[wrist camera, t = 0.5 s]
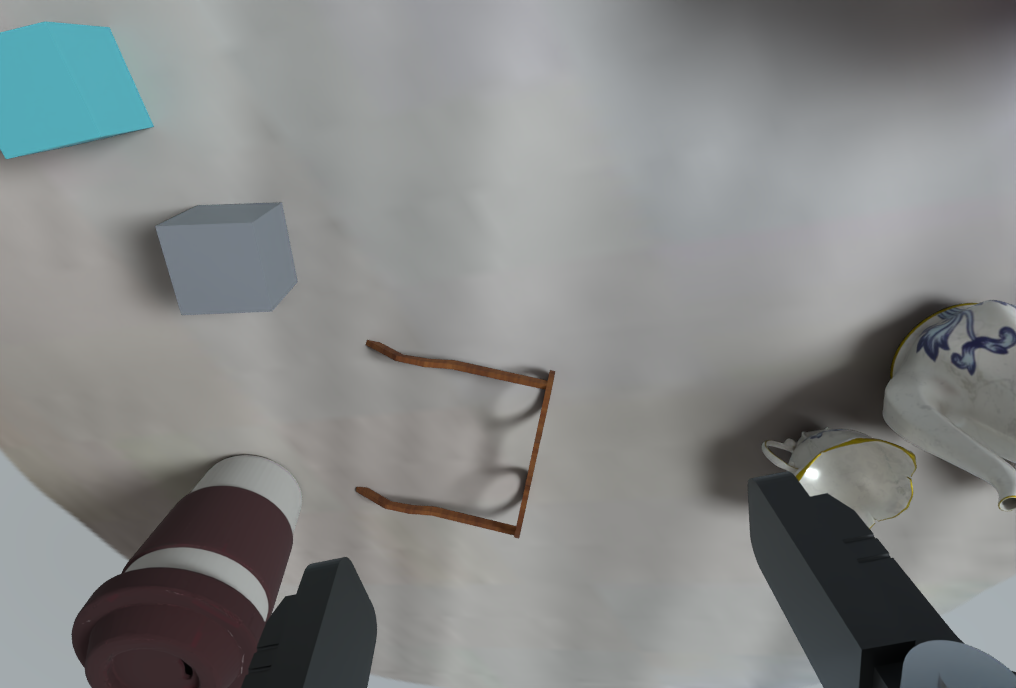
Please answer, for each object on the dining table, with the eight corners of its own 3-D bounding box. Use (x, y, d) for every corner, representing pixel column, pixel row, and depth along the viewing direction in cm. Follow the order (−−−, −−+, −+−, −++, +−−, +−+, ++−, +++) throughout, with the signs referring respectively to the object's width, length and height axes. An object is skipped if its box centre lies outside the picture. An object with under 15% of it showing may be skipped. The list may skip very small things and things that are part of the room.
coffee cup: (166, 505, 44) (24, 699, 31) (219, 413, 41) (87, 586, 27) (286, 558, 47) (204, 758, 33) (345, 476, 44) (281, 662, 30)
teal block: (21, 49, 31) (-58, 47, 26) (110, 27, 31) (44, 21, 26) (71, 146, 33) (6, 159, 28) (154, 126, 33) (101, 136, 28)
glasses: (524, 504, 46) (528, 552, 41) (357, 487, 45) (342, 535, 40) (556, 357, 40) (565, 394, 36) (366, 333, 39) (350, 368, 35)
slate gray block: (198, 205, 35) (155, 226, 30) (282, 201, 35) (252, 222, 30) (218, 284, 37) (181, 315, 32) (297, 281, 37) (272, 311, 32)
